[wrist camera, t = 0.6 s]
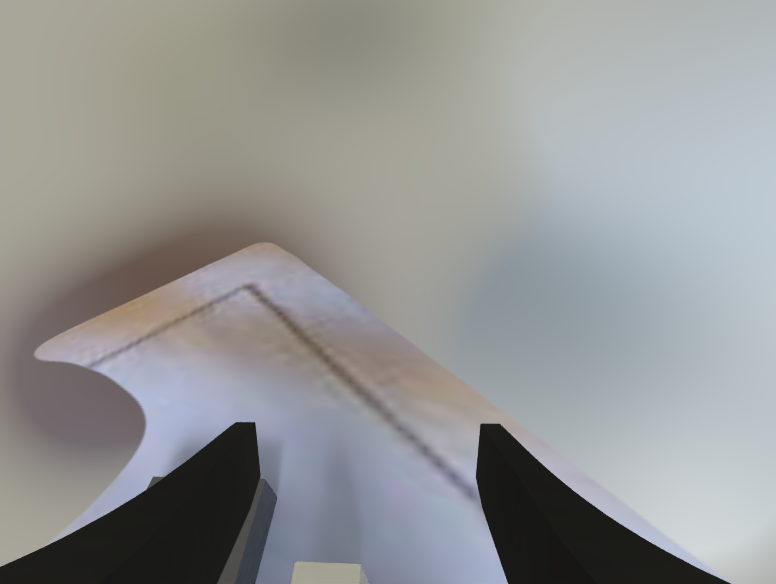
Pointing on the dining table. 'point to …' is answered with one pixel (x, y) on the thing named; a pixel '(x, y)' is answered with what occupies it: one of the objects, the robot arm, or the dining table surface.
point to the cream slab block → (328, 573)
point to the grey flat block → (248, 537)
